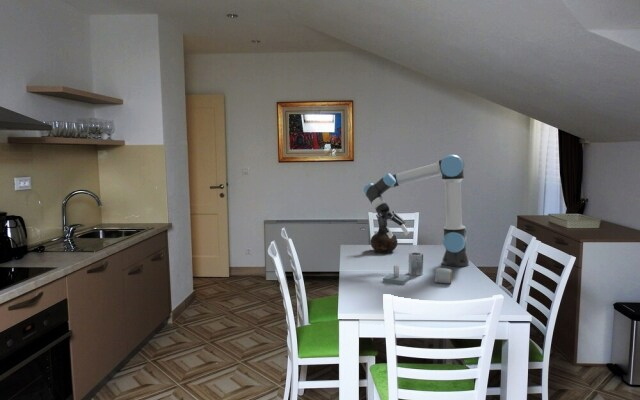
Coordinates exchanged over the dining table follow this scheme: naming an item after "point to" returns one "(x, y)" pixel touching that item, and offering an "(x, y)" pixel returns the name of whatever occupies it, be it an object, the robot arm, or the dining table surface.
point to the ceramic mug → (443, 275)
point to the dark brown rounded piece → (383, 241)
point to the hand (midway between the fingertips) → (399, 235)
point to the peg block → (396, 277)
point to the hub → (415, 263)
